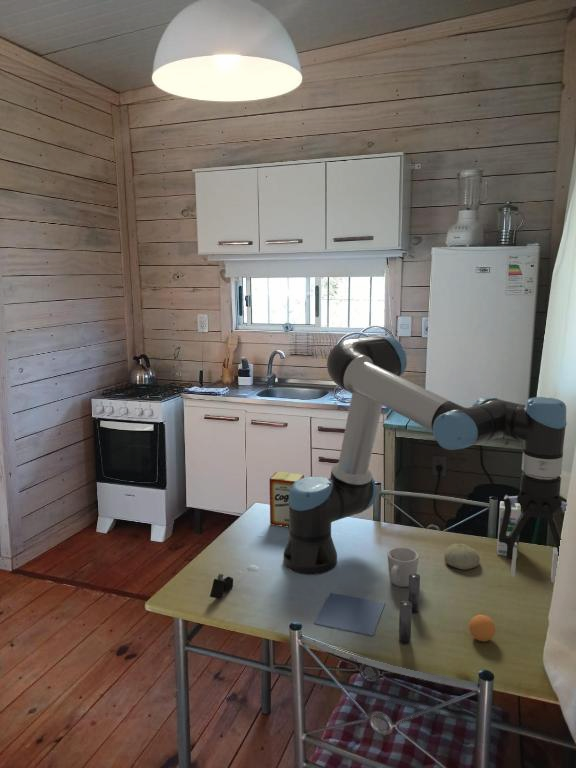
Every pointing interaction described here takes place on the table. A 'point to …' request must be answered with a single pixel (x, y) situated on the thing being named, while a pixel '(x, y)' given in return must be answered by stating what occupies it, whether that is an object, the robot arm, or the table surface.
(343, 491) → the robot arm
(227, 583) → the black spring clamp
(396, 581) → the cup
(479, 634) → the ball
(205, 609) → the table surface
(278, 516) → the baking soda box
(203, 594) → the table surface
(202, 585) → the table surface
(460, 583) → the table surface
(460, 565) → the sea urchin shell
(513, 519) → the syrup box
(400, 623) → the post
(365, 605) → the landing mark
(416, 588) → the post
